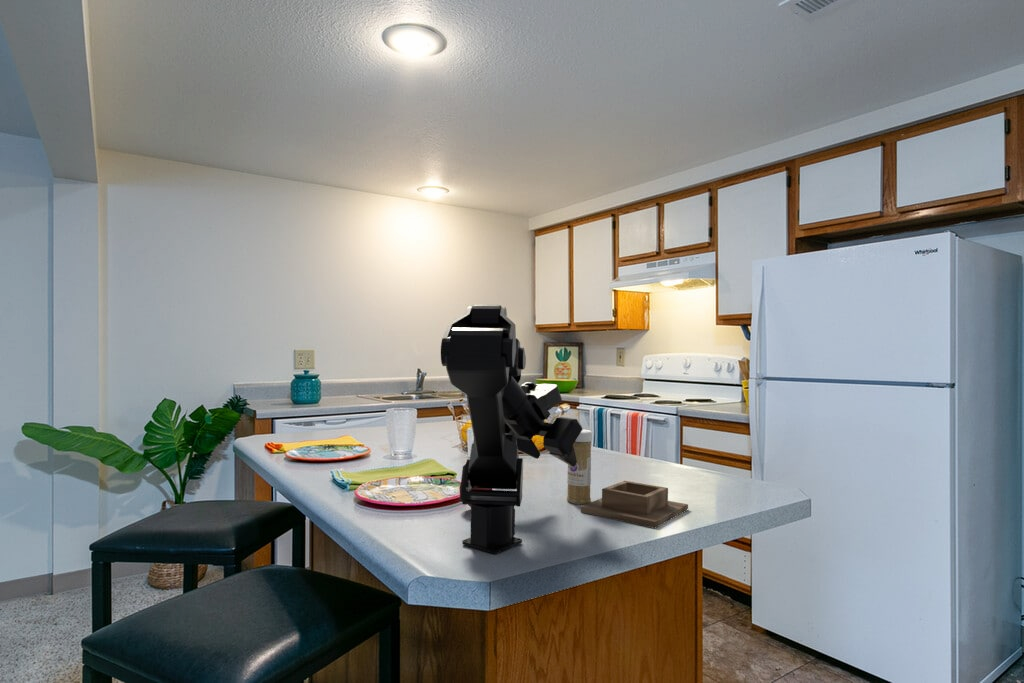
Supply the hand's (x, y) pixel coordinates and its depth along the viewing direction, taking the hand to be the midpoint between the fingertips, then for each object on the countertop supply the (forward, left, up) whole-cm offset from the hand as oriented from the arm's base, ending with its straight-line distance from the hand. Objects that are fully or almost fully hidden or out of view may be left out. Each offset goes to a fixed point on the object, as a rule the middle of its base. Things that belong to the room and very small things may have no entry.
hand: (556, 460), depth 106 cm
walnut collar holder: (+8, -12, -8) cm, 17 cm away
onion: (-10, +10, -9) cm, 17 cm away
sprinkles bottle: (+6, -1, -9) cm, 11 cm away
